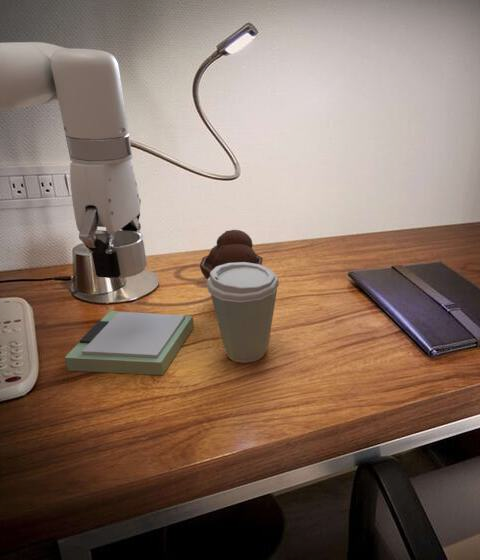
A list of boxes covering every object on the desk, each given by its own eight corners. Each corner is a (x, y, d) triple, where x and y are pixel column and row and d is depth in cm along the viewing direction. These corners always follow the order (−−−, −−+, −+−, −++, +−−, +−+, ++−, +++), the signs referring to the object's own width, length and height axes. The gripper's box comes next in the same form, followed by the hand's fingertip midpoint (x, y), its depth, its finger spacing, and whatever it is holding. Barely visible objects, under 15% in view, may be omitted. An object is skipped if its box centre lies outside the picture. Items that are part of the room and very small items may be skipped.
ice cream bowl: (199, 298, 101) (192, 225, 95) (258, 290, 106) (255, 220, 100) (208, 325, 93) (201, 247, 86) (271, 315, 98) (269, 240, 91)
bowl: (86, 278, 76) (79, 246, 74) (109, 258, 83) (103, 228, 80) (135, 280, 77) (130, 249, 75) (154, 261, 83) (150, 231, 81)
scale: (67, 370, 79) (63, 354, 77) (111, 322, 91) (108, 307, 90) (163, 375, 80) (160, 359, 78) (194, 327, 92) (192, 312, 91)
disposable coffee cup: (261, 329, 93) (257, 252, 87) (293, 357, 86) (292, 276, 80) (202, 348, 87) (194, 266, 80) (232, 381, 80) (225, 294, 73)
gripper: (103, 133, 79) (122, 242, 87) (32, 160, 64) (63, 290, 71) (154, 137, 80) (168, 245, 88) (96, 165, 64) (120, 293, 72)
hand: (121, 264), depth 79 cm, fingers closed on bowl, 7 cm apart
